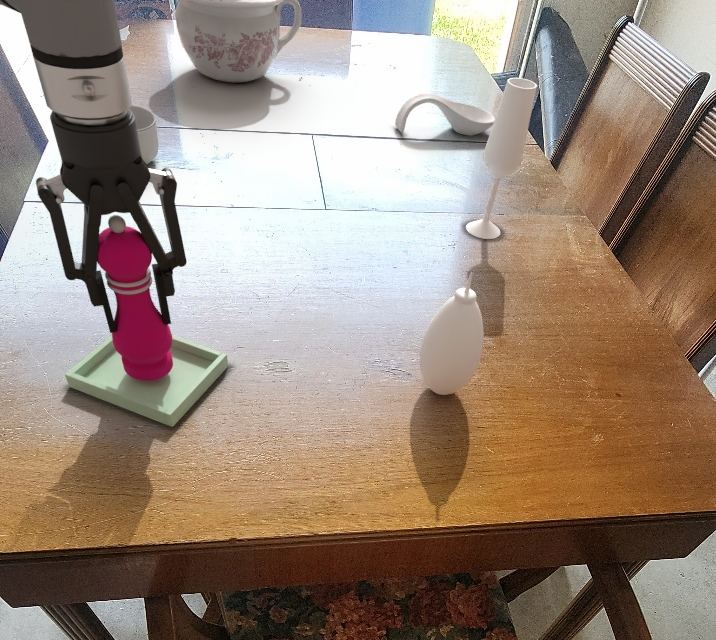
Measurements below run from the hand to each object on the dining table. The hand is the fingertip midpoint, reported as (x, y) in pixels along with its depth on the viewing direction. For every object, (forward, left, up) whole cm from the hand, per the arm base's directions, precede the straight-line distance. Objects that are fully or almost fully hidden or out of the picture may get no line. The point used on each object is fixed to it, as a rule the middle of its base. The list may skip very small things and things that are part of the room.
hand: (139, 321), depth 74 cm
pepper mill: (0, 0, -7) cm, 7 cm away
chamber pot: (-49, +106, -9) cm, 117 cm away
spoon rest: (+8, +106, -9) cm, 107 cm away
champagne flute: (+29, +65, -9) cm, 72 cm away
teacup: (-41, +51, -9) cm, 66 cm away
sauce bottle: (+36, +17, -9) cm, 41 cm away
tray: (0, 0, -9) cm, 9 cm away
